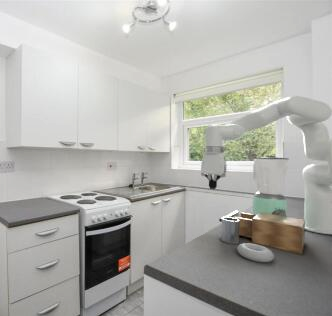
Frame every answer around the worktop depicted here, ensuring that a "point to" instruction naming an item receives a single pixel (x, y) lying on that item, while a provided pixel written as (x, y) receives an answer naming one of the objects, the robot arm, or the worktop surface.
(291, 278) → the worktop surface
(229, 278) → the worktop surface
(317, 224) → the robot arm
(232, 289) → the worktop surface
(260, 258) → the donut
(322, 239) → the worktop surface
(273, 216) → the cabinet
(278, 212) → the juicer
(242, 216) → the drawer
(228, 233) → the measuring cup
